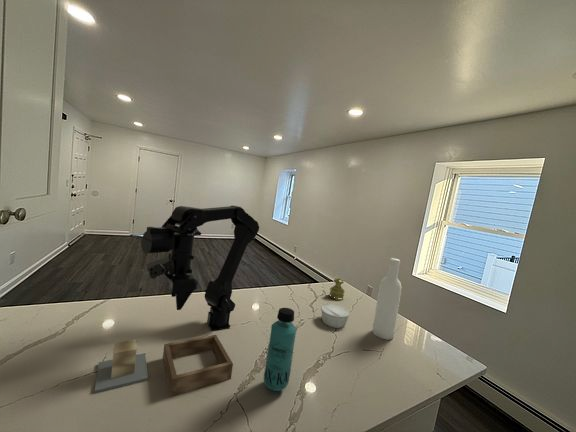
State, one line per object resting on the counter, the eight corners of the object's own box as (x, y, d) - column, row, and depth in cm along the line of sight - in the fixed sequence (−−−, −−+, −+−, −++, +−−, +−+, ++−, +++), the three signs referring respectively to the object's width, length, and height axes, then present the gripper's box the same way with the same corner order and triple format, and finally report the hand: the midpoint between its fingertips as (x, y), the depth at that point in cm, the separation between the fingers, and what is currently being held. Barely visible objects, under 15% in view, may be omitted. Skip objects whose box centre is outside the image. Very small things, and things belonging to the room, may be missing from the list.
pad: (144, 355, 67) (145, 353, 67) (147, 380, 59) (147, 377, 59) (98, 364, 62) (98, 362, 62) (94, 393, 53) (94, 390, 53)
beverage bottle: (262, 377, 65) (272, 303, 64) (287, 378, 66) (298, 305, 65) (261, 396, 59) (273, 314, 57) (289, 398, 59) (301, 317, 58)
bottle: (395, 342, 93) (408, 263, 91) (373, 336, 94) (386, 259, 93) (391, 331, 101) (403, 258, 99) (371, 327, 102) (382, 255, 100)
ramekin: (316, 323, 99) (318, 310, 98) (323, 313, 109) (325, 301, 109) (345, 332, 95) (347, 319, 94) (349, 321, 105) (351, 309, 105)
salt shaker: (334, 293, 135) (337, 275, 135) (346, 299, 130) (349, 280, 129) (326, 296, 130) (329, 277, 129) (338, 301, 125) (341, 282, 124)
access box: (214, 347, 75) (216, 334, 74) (231, 378, 63) (232, 363, 63) (162, 358, 67) (164, 344, 67) (170, 396, 55) (172, 379, 55)
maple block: (133, 361, 63) (136, 339, 63) (134, 373, 60) (136, 349, 59) (112, 366, 61) (114, 342, 61) (111, 378, 57) (113, 353, 57)
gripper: (147, 242, 75) (142, 293, 76) (153, 259, 60) (146, 322, 61) (186, 243, 81) (181, 290, 82) (201, 259, 66) (194, 316, 67)
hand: (176, 302), depth 73 cm, fingers open, 9 cm apart
